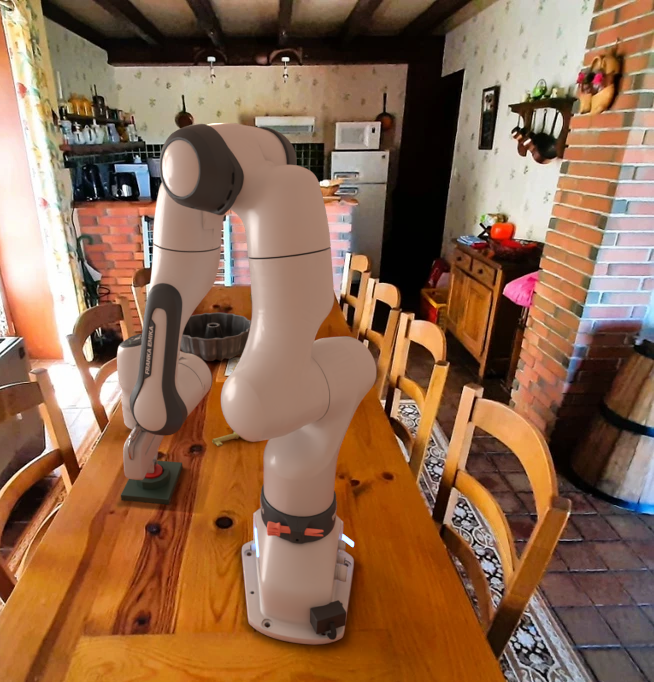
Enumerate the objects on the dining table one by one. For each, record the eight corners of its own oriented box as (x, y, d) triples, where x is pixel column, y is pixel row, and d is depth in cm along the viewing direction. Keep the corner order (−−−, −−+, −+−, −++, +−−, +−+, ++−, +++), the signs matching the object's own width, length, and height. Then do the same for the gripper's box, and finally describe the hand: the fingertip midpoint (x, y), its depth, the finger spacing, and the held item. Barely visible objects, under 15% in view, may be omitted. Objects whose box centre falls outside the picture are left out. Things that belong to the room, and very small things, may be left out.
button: (159, 484, 99) (159, 477, 99) (139, 482, 100) (138, 475, 99) (165, 471, 103) (164, 464, 103) (145, 469, 104) (144, 462, 103)
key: (210, 447, 115) (210, 439, 114) (242, 425, 123) (241, 417, 122) (234, 458, 110) (234, 450, 110) (265, 434, 119) (265, 427, 118)
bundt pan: (223, 331, 183) (222, 306, 179) (269, 353, 163) (269, 325, 159) (162, 349, 170) (160, 323, 167) (204, 375, 150) (202, 346, 146)
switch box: (169, 508, 96) (167, 492, 95) (121, 503, 98) (119, 487, 97) (182, 470, 107) (181, 455, 106) (139, 467, 109) (138, 452, 108)
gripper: (144, 443, 86) (151, 504, 91) (173, 388, 104) (177, 442, 110) (111, 440, 87) (120, 501, 93) (145, 387, 106) (151, 440, 111)
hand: (151, 468), depth 101 cm, fingers closed, pressing on button
